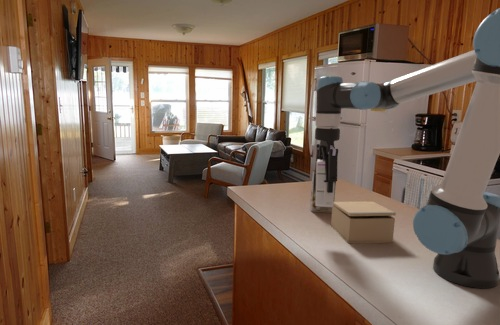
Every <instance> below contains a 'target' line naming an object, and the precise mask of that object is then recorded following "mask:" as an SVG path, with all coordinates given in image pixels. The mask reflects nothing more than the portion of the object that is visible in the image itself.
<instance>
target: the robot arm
mask: <svg viewBox="0 0 500 325" xmlns="http://www.w3.org/2000/svg"><path fill="white" fill-rule="evenodd" d="M472 46H473V50H470V51H467V52H465V53H461V54H459V55H457V56H454V57H451V58H448V59H445V60H443V61H439V62H436V63H434V64H432V65H429V66H427V67H424V68H421V69H418V70H416V71H413V72H410V73H408V74H404V75H402V76H399V77H396V78H393V79H391V80H388V81H385V82H382V83H376V82H373V81H364V80H363V81H356V82H344V80H343V79H344V78H343V76H338V75H337V76H336V75H335V76H334V75H332V76H331V75H329V76H327V75H326V76H325V75H324V76H320V77H319V78H318V80H317V85H316V111H315V112H316V113H315V124H314V125H315V127H316V128H315V134H314V139H315V140H317V141H319V143H317V144H316V145H315V147H316V155H315V167H314V170H315V173H316V162H317V159H320V160H322V159H323V160H324V161H325V173H326V180H324V182H325V185H324V203H330V202H333V190H334V182H335V181H336V182H338V157H339V148H336V146H335V142H337V141H339V140H340V138H341V136H340V134H341V129H340V128H339V127H340V126H341V120H342V119H343V117H342V116H341V113H342V109H350V110H361V111H362V110H390V109H394V108H397V107H398V106H399V105H400V104H404V103H407V102H410V101H414V100H417V99H421V98H424V97H427V96H431V95H434V94H435V95H436V94H437V93H441V92H445V91H448V90H452V89H454V88H458V87H460V86H465V85H468V84H472V83H474V82H476V83H475V85H474V89H473V92H472V94H471V98H470V100H469V104H468V105H467V108H466V111H465V114H464V117H463V121H462V123H461V127H460V128H459V132H458V135H457V138H456V139H455V144H454V147H453V149H452V152H451V155H450V157H449V161H448V163H447V166H446V169H445V173H444V175H443V178H442V181H441V183H440V184H438V185H436V186H433V187H432V188H431V191H430V194H429V196H428V199H427V203H426V205H424V206H422V207H421V208H419V210H418V211H416V213H415V214H414V217H413V218H412V219H413V220H412V225H413V226H412V227H413V231H414V234H415V236H416V237H417V239H418V241H419V242H420V244H422V245H423V246H424V247H425V248H426V249H428V250H429V251H431V252H433V253H435V254H437V255H436V256H435V257H434V259H433V265H432V269H433V272H435V273H436V275H439V276H440V277H441V278H443V279H445V280H446V281H447V280H448V281H449V282H451V283H455V284H458V285H461V286H462V287H463V286H465V287H469V288H473V287H474V289H491V287H492V288H494V287H497V286H498V284H499V282H500V271H499V267H498V261H497V256H496V246H497V243H498V242H497V241H498V234H499V229H500V195H498V194H495V193H493V192H488V191H486V189H487V187H488V184H489V181H490V179H491V177H492V174H493V172H494V168H495V166H496V163H497V161H498V158H499V156H500V7H499V8H497V9H496V10H494V11H493V12H491V13H490V14H488V15H487V16H486V17H485V18H484V19H483V20H482V22H480V24H479V25H478V27H477V29H476V30H475V32H474V35H473V41H472ZM331 177H332V178H331Z"/></svg>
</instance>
